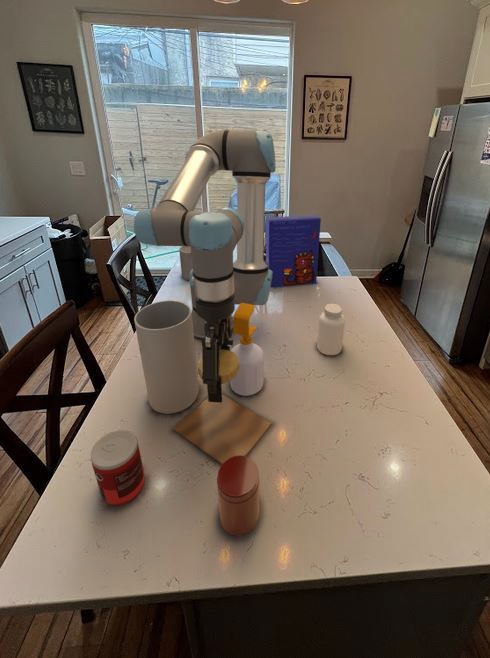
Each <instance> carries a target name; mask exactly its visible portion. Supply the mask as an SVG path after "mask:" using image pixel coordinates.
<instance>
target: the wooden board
mask: <svg viewBox="0 0 490 658" xmlns="http://www.w3.org/2000/svg"><path fill="white" fill-rule="evenodd" d="M271 426H272V422H271V421H269V420H267V419H266V418H264V417H262V416H261V415H259V414H257V413H255V412H254V411H252V410H250V409H248V408H246V407H245V406H243V405H241V404H240V403H239V402H236V401H234V400H233V399H231V397H230V398H229V397H228V396H226V395H225V394H223V393H222V403H219V402H209V401H208V397H207V398H206V399H205V400H204V401H202V402H201V403H200V404H199V405H198V406H197V407H195V408H194V409H193V410H192V411H191V412H189V414H188V415H186V416H185V417H184V418H183V419H182V420H181V421H180V422H178V424H177V425H176V426H174V427H173V431H175V432H176V433H177V434H179V435H181V437H183V438H184V439H186V440H187V441H189V443H191V444H192V445H194V446H195V447H197V448H198V449H199V450H201V451H202V452H204V453H205V454H206V455H208V456H209V457H210V458H211V459H213V460H214V461H216V462H217V463H219V464H220V466H222V464H223V463H224V462H225V461H226V460H228V459H229V458H231V457H234V456H246V457H248V455H249V454H250V452H251V451H252V450H253V448H255V446H256V445H257V443H258V442H259V441H260V440H261V438H262V437H263V436H264V435H265V433H267V431H268V430H269V429H270V427H271Z"/></svg>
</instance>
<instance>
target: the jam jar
mask: <svg viewBox="0 0 490 658" xmlns="http://www.w3.org/2000/svg"><path fill="white" fill-rule="evenodd" d="M216 485H217V497H218V509H219V521H220V524H221V527H222V528H223V530H224V532H226V533H228V534H229V535H231V536H233V537H241V536H244V535H247V534H248V533H250V532H252V531H253V529H254V528H255V526H256V525H257V523H258V521H259V517H260V477H259V468H258V465H257V464H256V462H255V461H254V460H253V459H252V458H250V457H249V456H234V457H231V458H229V459H228V460H226V461H225V462H224V463H223V464H222V465H220V467H219V469H218V471H217V476H216Z"/></svg>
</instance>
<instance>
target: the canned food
mask: <svg viewBox="0 0 490 658" xmlns="http://www.w3.org/2000/svg"><path fill="white" fill-rule="evenodd" d="M90 462H91V466H92V470H93V473H94V476H95V480H96V483H97V487H98V489H99V492H100V496H101V498H102V499H103V501H104V502H106V503H107V504H108V505H111V506H122V505H125V504H127V503H130V502H131V501H133V500H134V499H135V498H137V496H138V495H139V494H140V492H141V491H142V489H143V486H144V484H145V478H146V476H145V470H144V465H143V461H142V455H141V450H140V447H139V441H138V438H137V435H136V434H135V433H134V432H132V431H130V430H128V429H118V430H113V431H110V432H108V433H107V434H104V435H103V436H102V437H101V438H99V439H98V440H97V441H96V442H95V443H94V445H93V447H92V448H91V452H90Z"/></svg>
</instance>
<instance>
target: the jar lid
mask: <svg viewBox="0 0 490 658" xmlns="http://www.w3.org/2000/svg"><path fill="white" fill-rule="evenodd" d="M238 371H239V359H238V357H237V355H236V354H235V353H233V352H232V351H231V350H230V351H229V350H224V349H221V350H220V370H219V375H221V385H224V384H226V383H230V381H231V380H232V379H233V378H235V377H236V375H237V374H238ZM197 374H198V377H199V378H200V379H201V380H202V376H203V358H202V356H201V357H200V359H199V360H198V363H197Z"/></svg>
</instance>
